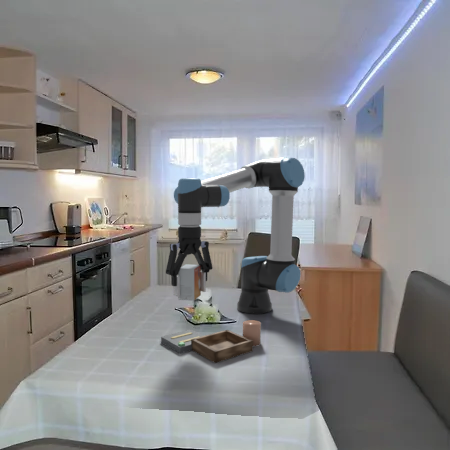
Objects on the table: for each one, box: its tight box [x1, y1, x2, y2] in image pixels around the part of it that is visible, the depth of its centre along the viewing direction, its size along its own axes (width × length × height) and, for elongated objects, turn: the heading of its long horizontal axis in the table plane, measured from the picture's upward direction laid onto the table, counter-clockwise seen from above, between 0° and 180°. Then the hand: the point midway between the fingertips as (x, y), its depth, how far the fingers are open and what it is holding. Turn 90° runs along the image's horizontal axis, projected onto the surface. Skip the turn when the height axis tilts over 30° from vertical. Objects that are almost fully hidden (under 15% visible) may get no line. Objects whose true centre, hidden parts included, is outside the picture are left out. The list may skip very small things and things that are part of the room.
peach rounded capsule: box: [242, 319, 262, 347], centre depth 138 cm, size 6×6×7 cm
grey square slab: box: [160, 329, 204, 354], centre depth 137 cm, size 12×12×3 cm
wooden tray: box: [191, 329, 254, 364], centre depth 131 cm, size 15×13×4 cm
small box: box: [177, 263, 202, 302], centre depth 135 cm, size 8×6×10 cm
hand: (189, 293), depth 135 cm, fingers closed on small box, 9 cm apart
